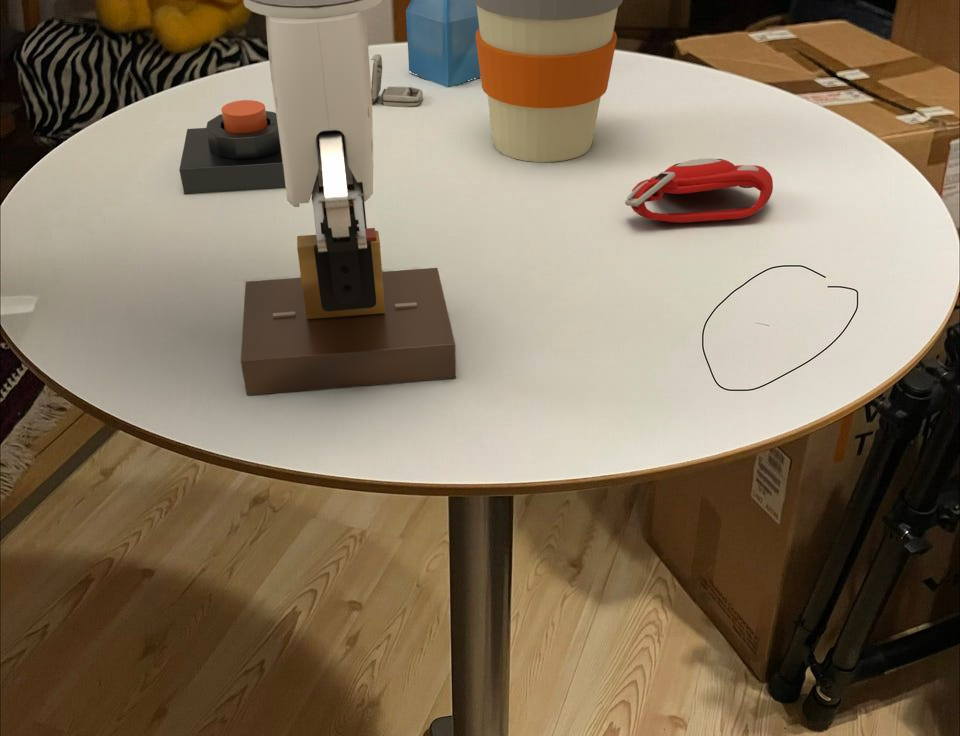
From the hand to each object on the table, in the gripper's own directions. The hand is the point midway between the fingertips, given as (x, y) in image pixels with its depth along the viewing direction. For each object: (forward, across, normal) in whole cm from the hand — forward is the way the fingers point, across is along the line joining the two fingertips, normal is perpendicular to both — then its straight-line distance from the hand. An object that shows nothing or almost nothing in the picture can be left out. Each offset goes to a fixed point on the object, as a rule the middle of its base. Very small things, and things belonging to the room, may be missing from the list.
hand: (345, 268), depth 65 cm
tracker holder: (+6, -17, +28) cm, 33 cm away
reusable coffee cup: (+6, -32, +19) cm, 38 cm away
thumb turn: (+3, 0, 0) cm, 3 cm away
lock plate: (+6, 0, 0) cm, 6 cm away
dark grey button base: (+5, -30, -7) cm, 31 cm away
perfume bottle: (+6, -52, +13) cm, 54 cm away
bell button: (+2, -30, -7) cm, 31 cm away
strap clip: (+6, -45, +5) cm, 46 cm away
